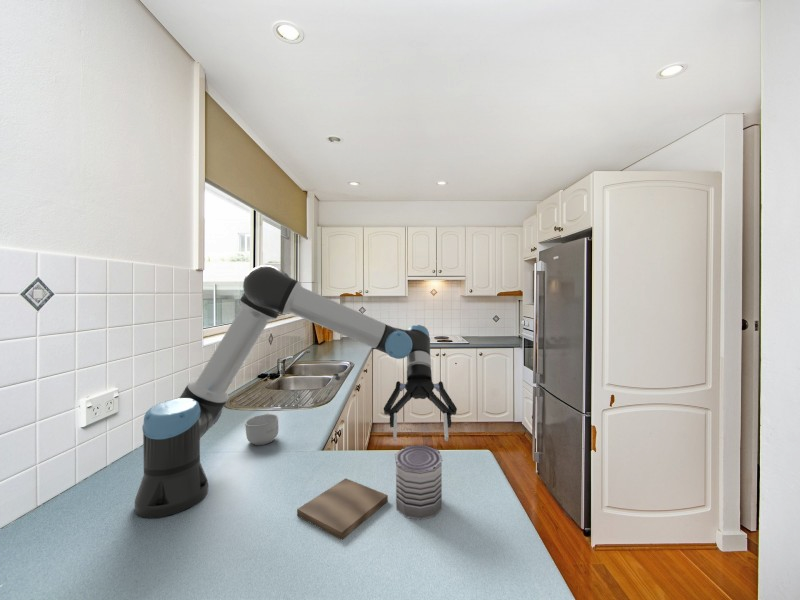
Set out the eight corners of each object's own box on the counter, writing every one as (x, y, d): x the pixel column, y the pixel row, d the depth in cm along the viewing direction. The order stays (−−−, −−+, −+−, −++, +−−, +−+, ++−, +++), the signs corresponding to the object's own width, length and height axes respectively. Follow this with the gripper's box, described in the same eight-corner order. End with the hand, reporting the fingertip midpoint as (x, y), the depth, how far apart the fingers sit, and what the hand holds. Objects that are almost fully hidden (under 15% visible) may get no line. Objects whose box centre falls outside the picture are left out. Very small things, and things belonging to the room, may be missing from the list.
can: (450, 501, 83) (450, 452, 83) (427, 527, 73) (427, 472, 73) (411, 486, 89) (411, 441, 89) (385, 508, 80) (385, 458, 80)
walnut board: (341, 539, 70) (341, 532, 70) (297, 515, 77) (297, 509, 77) (387, 501, 83) (387, 495, 83) (345, 483, 91) (345, 478, 91)
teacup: (271, 448, 112) (271, 424, 112) (239, 448, 113) (238, 424, 113) (286, 432, 126) (286, 410, 126) (257, 431, 127) (257, 410, 127)
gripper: (458, 376, 106) (466, 444, 91) (379, 376, 107) (374, 444, 92) (461, 362, 101) (470, 433, 86) (377, 362, 101) (372, 432, 87)
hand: (420, 439), depth 89 cm, fingers open, 13 cm apart
